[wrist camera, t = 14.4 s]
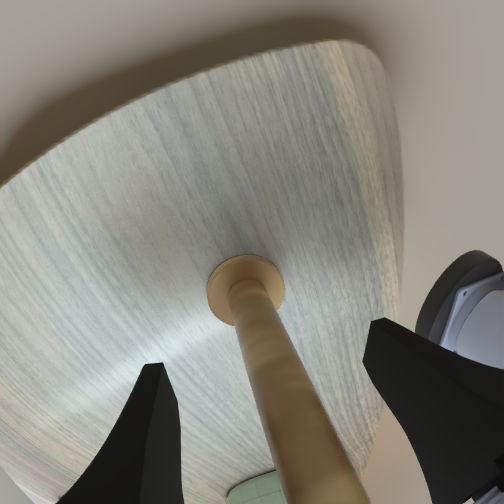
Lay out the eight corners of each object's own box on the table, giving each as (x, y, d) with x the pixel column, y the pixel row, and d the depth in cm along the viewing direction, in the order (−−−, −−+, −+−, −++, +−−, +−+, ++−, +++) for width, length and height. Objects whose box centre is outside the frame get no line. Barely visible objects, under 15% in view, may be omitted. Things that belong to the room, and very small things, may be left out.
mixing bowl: (345, 448, 24) (362, 481, 20) (328, 488, 30) (339, 512, 26) (216, 479, 22) (224, 517, 18) (232, 510, 27) (239, 537, 23)
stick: (280, 249, 14) (432, 462, 4) (281, 313, 15) (382, 510, 5) (201, 260, 13) (252, 529, 3) (212, 325, 15) (259, 549, 5)
